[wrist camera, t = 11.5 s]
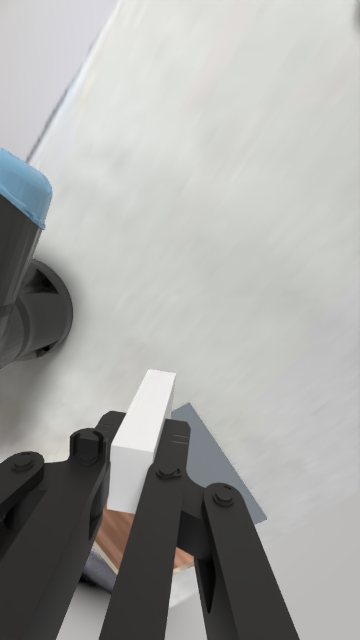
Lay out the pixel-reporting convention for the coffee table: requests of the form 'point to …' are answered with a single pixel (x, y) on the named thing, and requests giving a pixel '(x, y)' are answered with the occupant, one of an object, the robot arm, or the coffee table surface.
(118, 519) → the birch slab
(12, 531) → the robot arm
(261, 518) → the slate mat
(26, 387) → the coffee table surface
